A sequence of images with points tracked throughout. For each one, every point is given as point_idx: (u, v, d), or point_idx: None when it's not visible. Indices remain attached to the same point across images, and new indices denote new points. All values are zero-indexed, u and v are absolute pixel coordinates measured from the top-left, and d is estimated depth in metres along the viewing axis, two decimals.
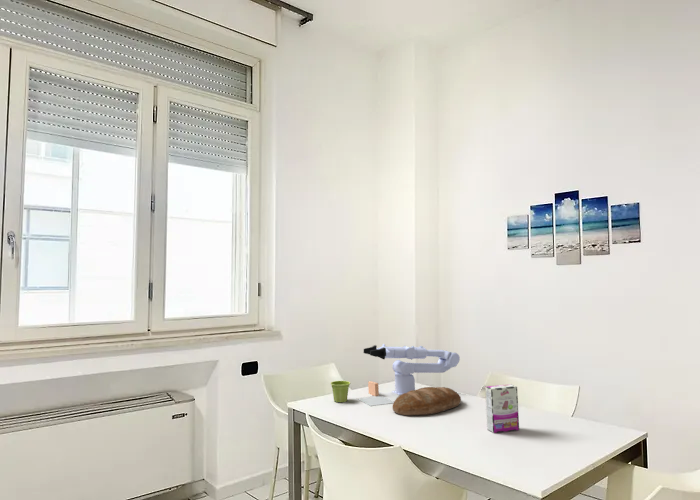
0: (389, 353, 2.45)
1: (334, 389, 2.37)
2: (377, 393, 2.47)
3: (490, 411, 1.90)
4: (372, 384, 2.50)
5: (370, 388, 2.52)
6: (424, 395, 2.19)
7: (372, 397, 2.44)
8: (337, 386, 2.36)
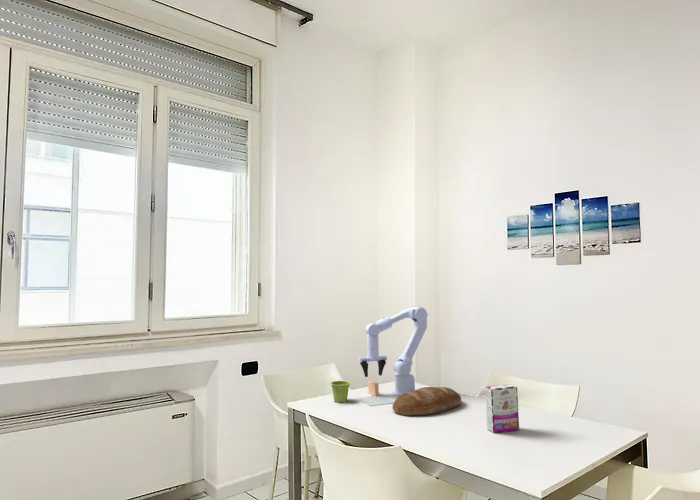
0: (359, 359, 2.49)
1: (334, 389, 2.37)
2: (377, 393, 2.47)
3: (490, 411, 1.90)
4: (372, 384, 2.50)
5: (370, 388, 2.52)
6: (424, 395, 2.19)
7: (372, 397, 2.44)
8: (337, 386, 2.36)
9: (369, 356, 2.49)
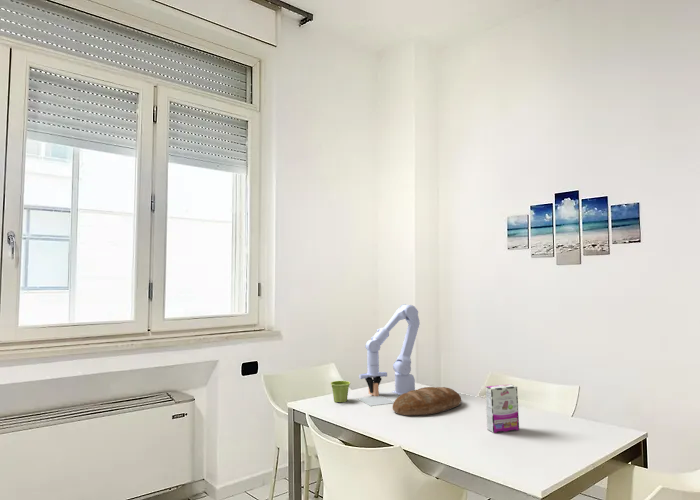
0: (359, 376, 2.49)
1: (334, 389, 2.37)
2: (377, 393, 2.47)
3: (490, 411, 1.90)
4: None
5: None
6: (424, 395, 2.19)
7: (372, 397, 2.44)
8: (337, 386, 2.36)
9: (369, 372, 2.49)
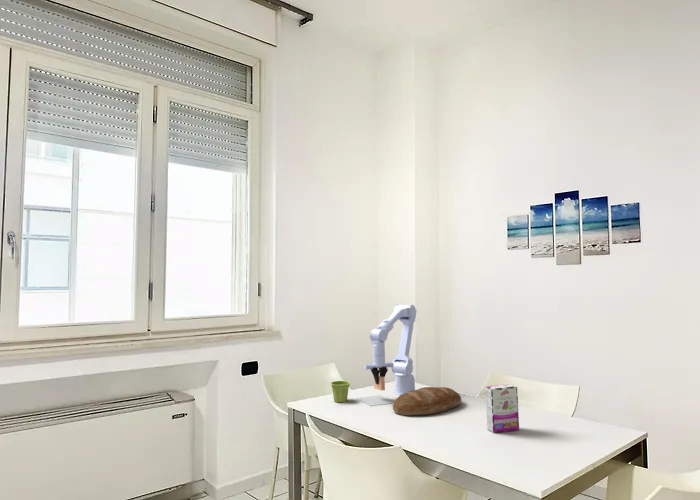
0: (364, 366, 2.38)
1: (334, 389, 2.37)
2: (383, 387, 2.36)
3: (490, 411, 1.90)
4: None
5: None
6: (424, 395, 2.19)
7: (372, 397, 2.44)
8: (337, 386, 2.36)
9: (375, 363, 2.38)
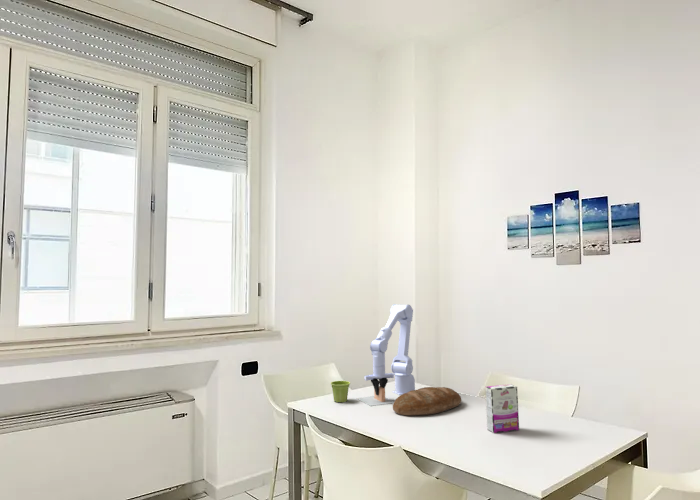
0: (364, 377, 2.38)
1: (334, 389, 2.37)
2: (383, 399, 2.36)
3: (490, 411, 1.90)
4: None
5: None
6: (424, 395, 2.19)
7: (372, 397, 2.44)
8: (337, 386, 2.36)
9: (375, 374, 2.38)
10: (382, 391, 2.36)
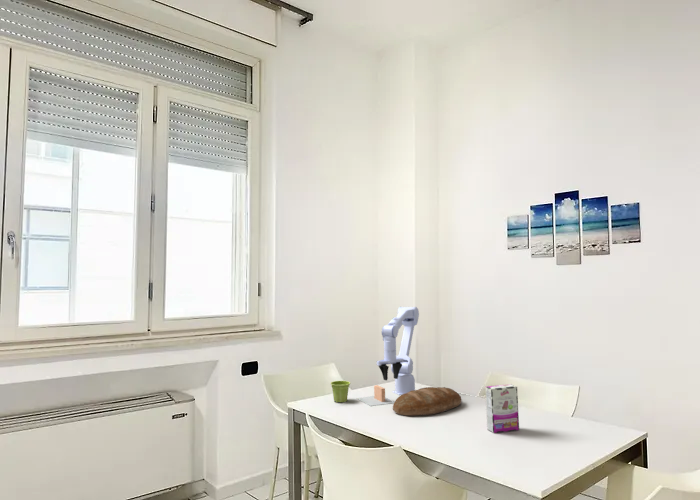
0: (377, 362, 2.39)
1: (334, 389, 2.37)
2: (383, 399, 2.36)
3: (490, 411, 1.90)
4: (378, 389, 2.38)
5: (376, 393, 2.41)
6: (424, 395, 2.19)
7: (372, 397, 2.44)
8: (337, 386, 2.36)
9: (387, 359, 2.41)
10: (382, 391, 2.36)
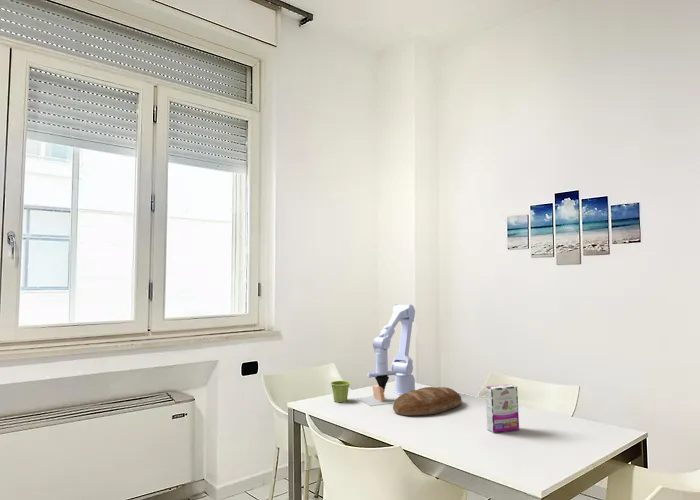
0: (367, 374, 2.38)
1: (334, 389, 2.37)
2: (383, 398, 2.36)
3: (490, 411, 1.90)
4: (377, 389, 2.38)
5: (375, 393, 2.41)
6: (424, 395, 2.18)
7: (372, 397, 2.44)
8: (337, 386, 2.36)
9: (378, 371, 2.39)
10: (381, 391, 2.36)
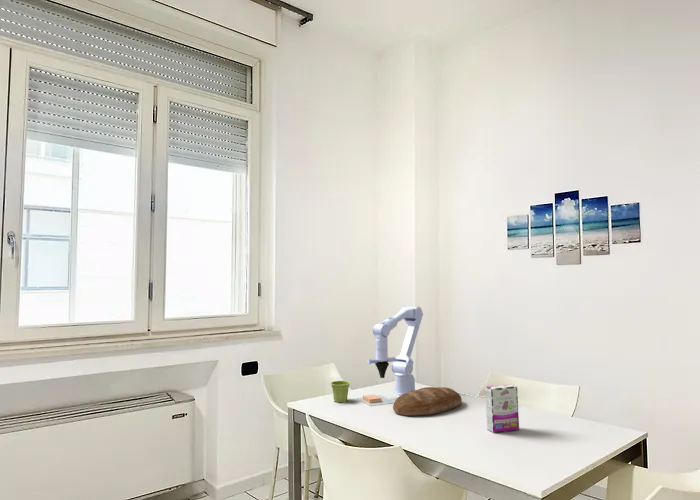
0: (367, 360, 2.42)
1: (334, 389, 2.37)
2: (379, 399, 2.35)
3: (490, 411, 1.90)
4: None
5: None
6: (424, 395, 2.18)
7: None
8: (337, 386, 2.36)
9: (378, 357, 2.42)
10: (372, 402, 2.34)
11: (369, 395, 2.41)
